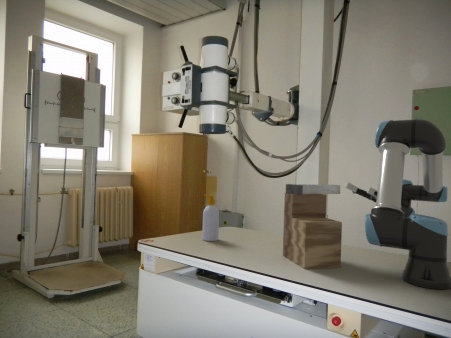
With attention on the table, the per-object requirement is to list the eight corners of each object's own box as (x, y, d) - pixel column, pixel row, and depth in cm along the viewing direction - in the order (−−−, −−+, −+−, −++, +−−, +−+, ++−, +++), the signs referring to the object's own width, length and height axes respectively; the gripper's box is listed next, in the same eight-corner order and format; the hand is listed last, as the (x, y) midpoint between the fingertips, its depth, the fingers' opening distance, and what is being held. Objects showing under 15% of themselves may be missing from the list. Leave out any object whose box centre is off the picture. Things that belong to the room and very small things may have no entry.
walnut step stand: (340, 267, 138) (342, 197, 137) (304, 268, 133) (306, 197, 133) (315, 254, 157) (316, 193, 157) (282, 255, 153) (284, 192, 153)
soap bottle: (205, 237, 189) (207, 193, 189) (221, 239, 185) (222, 194, 185) (197, 239, 181) (199, 194, 181) (213, 241, 177) (215, 195, 177)
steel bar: (343, 194, 155) (343, 185, 155) (296, 194, 144) (297, 185, 144) (330, 192, 163) (331, 184, 163) (285, 193, 151) (285, 184, 151)
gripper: (407, 217, 150) (375, 200, 142) (365, 205, 173) (335, 189, 165) (414, 202, 150) (382, 183, 142) (371, 192, 173) (341, 175, 165)
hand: (357, 187), depth 154 cm, fingers open, 13 cm apart
